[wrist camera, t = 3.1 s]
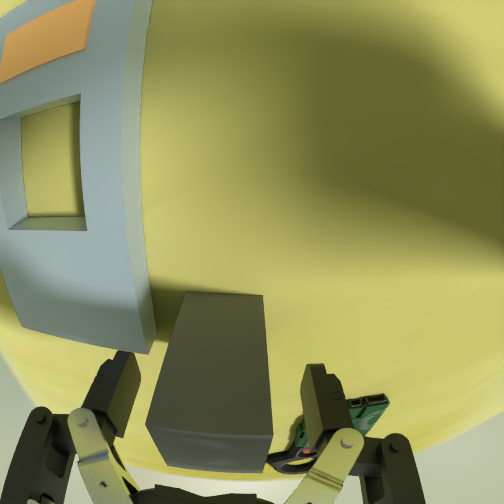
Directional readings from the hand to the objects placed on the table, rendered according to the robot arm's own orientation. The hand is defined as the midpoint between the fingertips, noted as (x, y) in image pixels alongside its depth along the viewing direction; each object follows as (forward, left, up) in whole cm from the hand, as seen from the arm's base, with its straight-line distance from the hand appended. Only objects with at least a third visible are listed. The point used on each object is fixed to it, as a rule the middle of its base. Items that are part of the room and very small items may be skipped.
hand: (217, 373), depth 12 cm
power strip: (+9, -16, -4) cm, 18 cm away
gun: (-9, +16, -4) cm, 19 cm away
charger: (0, 0, -4) cm, 4 cm away
